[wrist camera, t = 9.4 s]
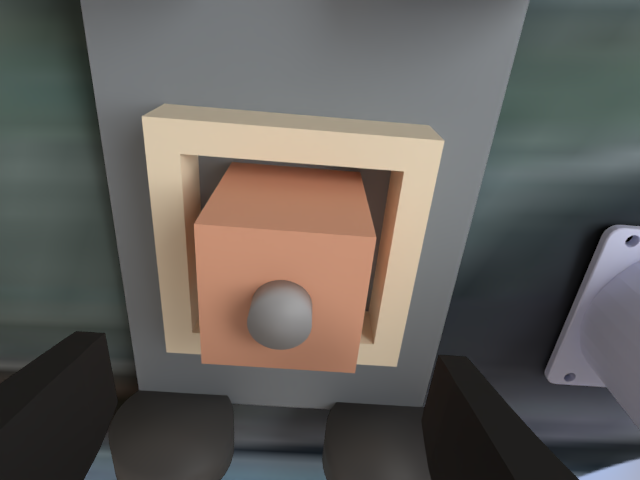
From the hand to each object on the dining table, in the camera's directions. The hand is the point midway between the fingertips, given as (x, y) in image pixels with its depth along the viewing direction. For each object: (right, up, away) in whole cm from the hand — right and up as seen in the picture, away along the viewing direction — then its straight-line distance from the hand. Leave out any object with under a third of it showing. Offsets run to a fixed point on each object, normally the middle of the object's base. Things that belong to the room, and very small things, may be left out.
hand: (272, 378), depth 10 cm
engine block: (0, +4, +6) cm, 7 cm away
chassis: (0, +4, +7) cm, 8 cm away
